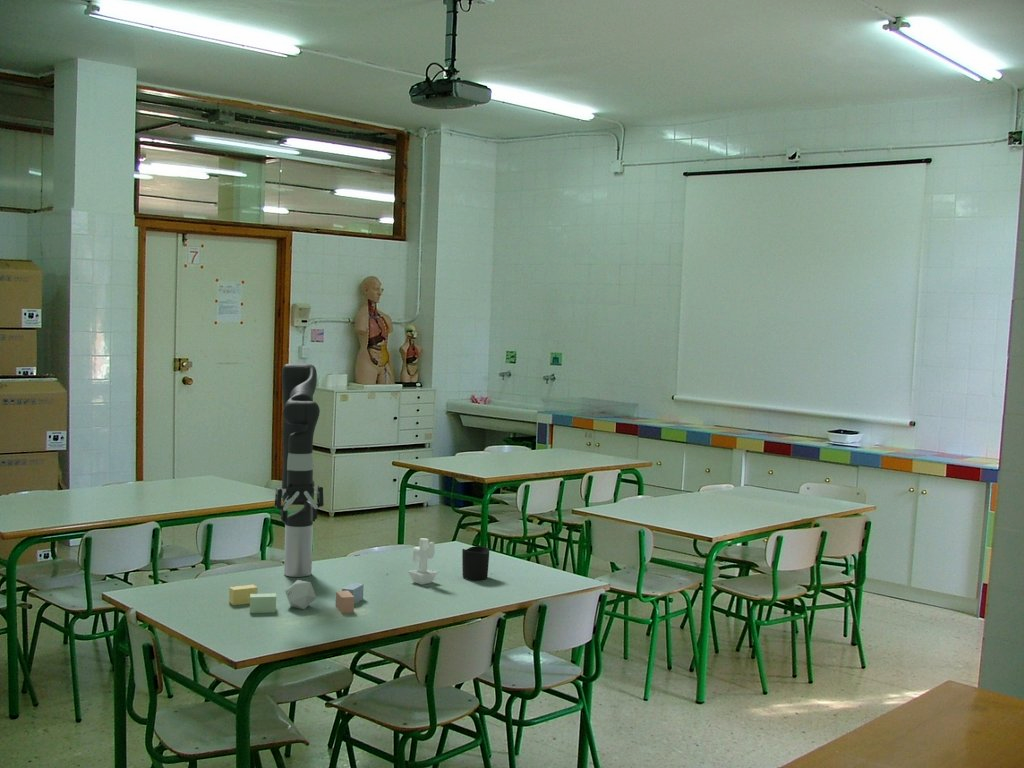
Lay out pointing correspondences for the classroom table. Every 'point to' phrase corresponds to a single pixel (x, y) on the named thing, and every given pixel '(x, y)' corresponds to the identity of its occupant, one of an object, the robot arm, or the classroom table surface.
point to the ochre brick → (241, 594)
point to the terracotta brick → (344, 601)
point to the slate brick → (355, 591)
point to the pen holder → (475, 563)
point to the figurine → (423, 562)
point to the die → (300, 594)
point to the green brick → (262, 603)
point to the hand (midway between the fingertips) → (298, 521)
